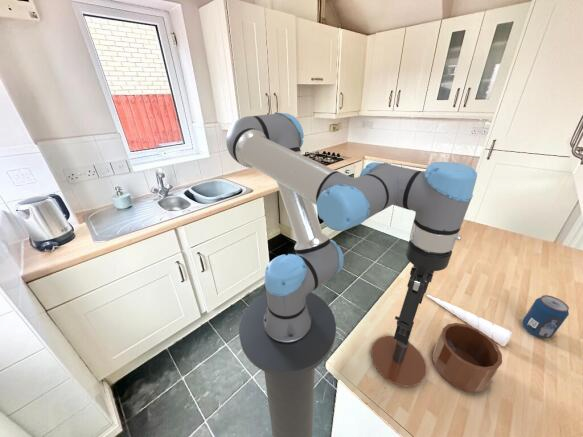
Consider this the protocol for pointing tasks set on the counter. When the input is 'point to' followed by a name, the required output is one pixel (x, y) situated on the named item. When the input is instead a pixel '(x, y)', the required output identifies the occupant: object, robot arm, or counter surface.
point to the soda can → (545, 316)
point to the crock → (466, 357)
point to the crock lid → (398, 361)
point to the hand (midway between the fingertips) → (408, 319)
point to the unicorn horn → (478, 323)
